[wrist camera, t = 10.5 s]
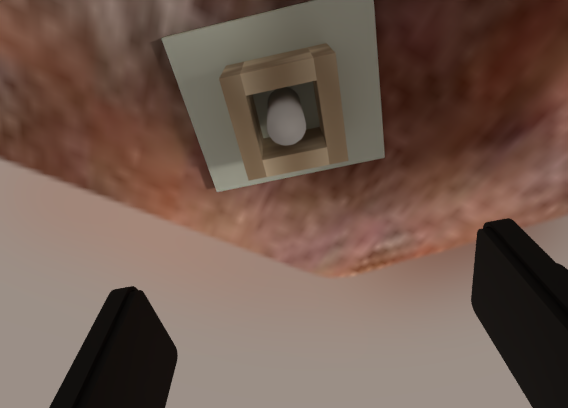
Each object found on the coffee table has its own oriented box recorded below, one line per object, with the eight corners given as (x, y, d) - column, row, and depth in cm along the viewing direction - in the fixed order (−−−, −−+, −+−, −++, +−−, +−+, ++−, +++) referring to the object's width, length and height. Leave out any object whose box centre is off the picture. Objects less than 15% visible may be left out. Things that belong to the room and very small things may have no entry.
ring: (326, 43, 24) (335, 52, 21) (338, 139, 28) (348, 160, 24) (225, 65, 25) (218, 78, 21) (251, 157, 28) (248, 180, 25)
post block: (368, -14, 23) (396, -13, 18) (381, 152, 30) (404, 188, 24) (165, 36, 25) (137, 50, 19) (218, 186, 31) (208, 226, 26)
